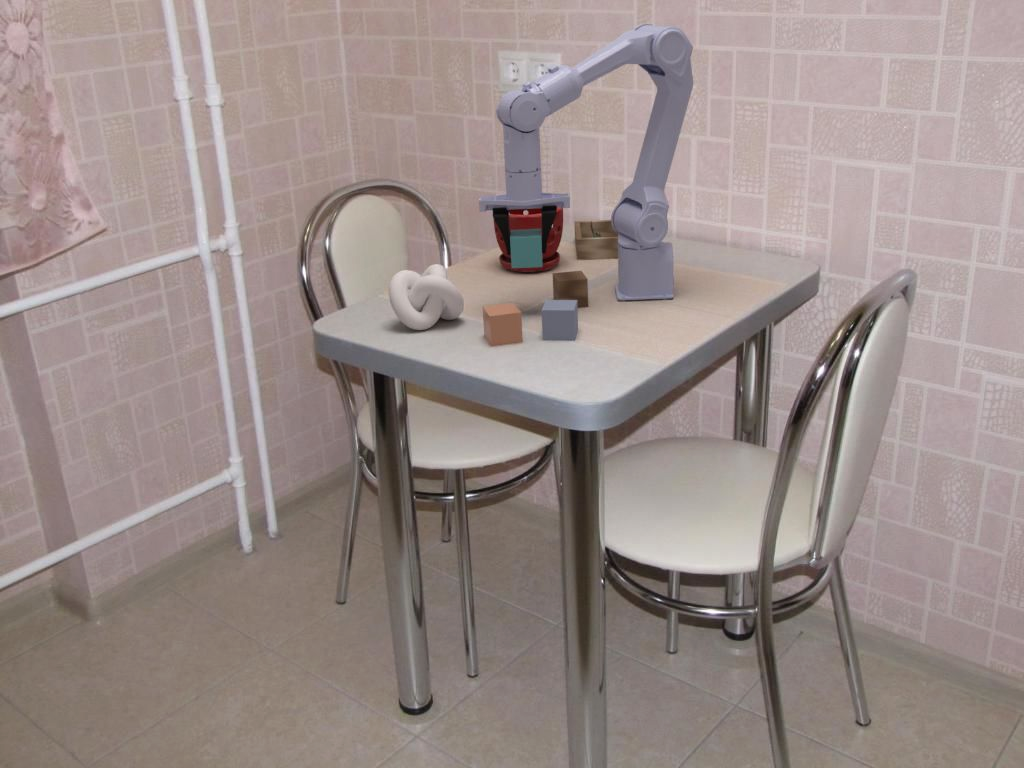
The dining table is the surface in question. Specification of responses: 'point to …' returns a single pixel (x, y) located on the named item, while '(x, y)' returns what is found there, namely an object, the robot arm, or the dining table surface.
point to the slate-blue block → (560, 320)
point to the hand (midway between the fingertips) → (526, 252)
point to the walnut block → (571, 287)
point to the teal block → (526, 248)
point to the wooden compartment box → (596, 240)
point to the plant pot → (532, 222)
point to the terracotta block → (502, 324)
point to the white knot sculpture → (424, 297)
